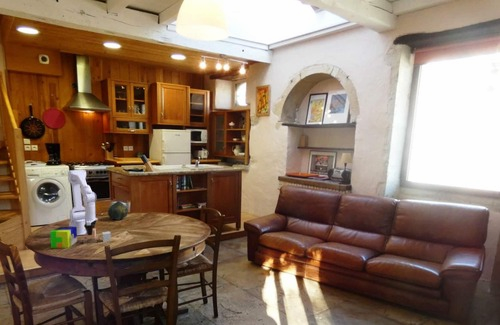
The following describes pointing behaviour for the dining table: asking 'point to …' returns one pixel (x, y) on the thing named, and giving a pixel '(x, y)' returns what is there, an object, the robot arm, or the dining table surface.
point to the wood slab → (90, 240)
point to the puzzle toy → (63, 237)
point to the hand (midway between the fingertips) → (90, 233)
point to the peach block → (92, 234)
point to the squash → (118, 211)
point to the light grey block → (106, 236)
